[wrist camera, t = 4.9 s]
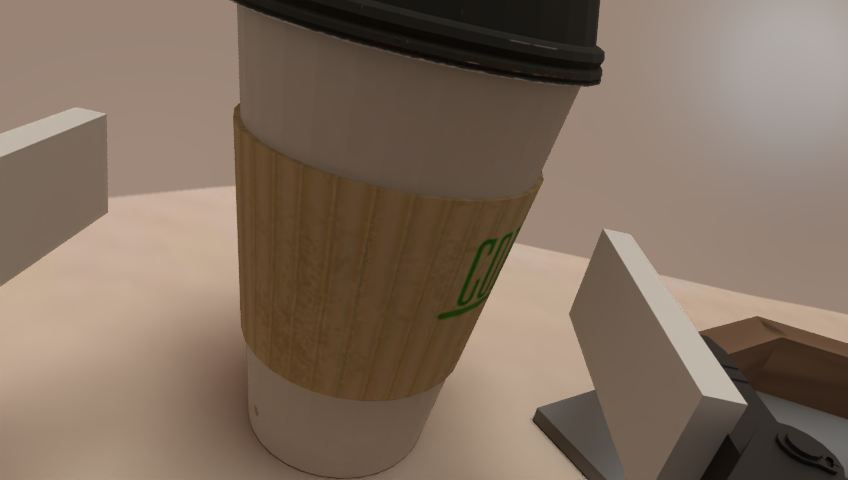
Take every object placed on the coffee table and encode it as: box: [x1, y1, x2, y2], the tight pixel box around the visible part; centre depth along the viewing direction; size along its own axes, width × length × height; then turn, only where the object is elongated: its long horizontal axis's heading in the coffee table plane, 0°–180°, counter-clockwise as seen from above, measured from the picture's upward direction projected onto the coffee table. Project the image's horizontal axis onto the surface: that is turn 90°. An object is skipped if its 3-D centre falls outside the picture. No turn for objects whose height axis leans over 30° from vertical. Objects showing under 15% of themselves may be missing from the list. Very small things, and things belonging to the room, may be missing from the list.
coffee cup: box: [230, 0, 604, 478], centre depth 17 cm, size 10×10×15 cm
